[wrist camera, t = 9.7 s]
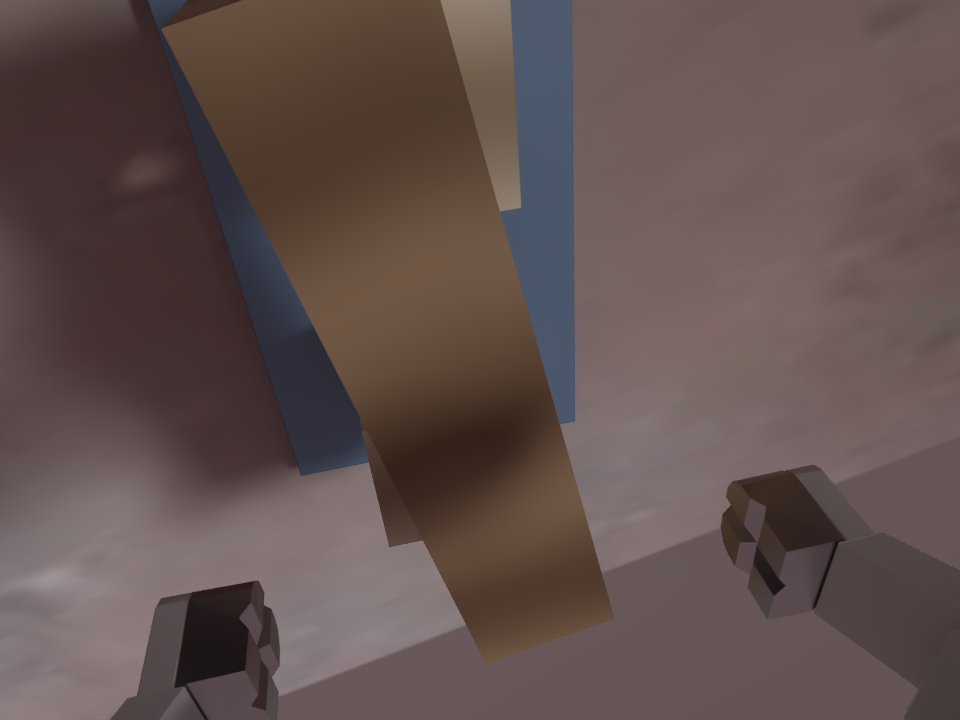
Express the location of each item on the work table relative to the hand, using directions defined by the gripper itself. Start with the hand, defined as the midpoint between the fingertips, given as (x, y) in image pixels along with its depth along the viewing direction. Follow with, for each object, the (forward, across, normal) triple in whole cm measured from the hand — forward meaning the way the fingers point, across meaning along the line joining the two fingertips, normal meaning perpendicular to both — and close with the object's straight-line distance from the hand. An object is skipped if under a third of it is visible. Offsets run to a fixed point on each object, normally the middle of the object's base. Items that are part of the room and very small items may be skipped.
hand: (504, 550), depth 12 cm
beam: (+8, 0, +1) cm, 8 cm away
